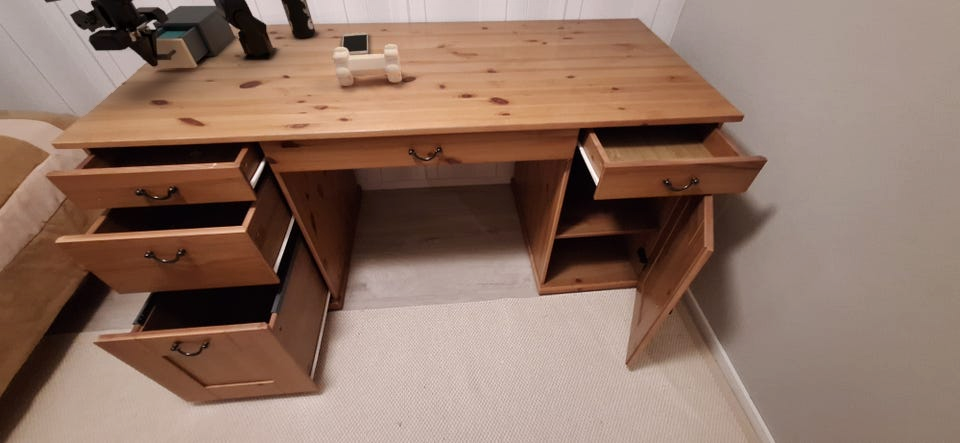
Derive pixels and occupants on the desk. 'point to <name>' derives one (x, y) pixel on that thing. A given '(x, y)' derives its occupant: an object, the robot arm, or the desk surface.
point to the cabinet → (202, 25)
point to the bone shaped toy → (367, 65)
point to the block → (172, 35)
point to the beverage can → (299, 18)
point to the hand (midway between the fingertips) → (154, 65)
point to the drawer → (180, 48)
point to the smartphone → (356, 43)
